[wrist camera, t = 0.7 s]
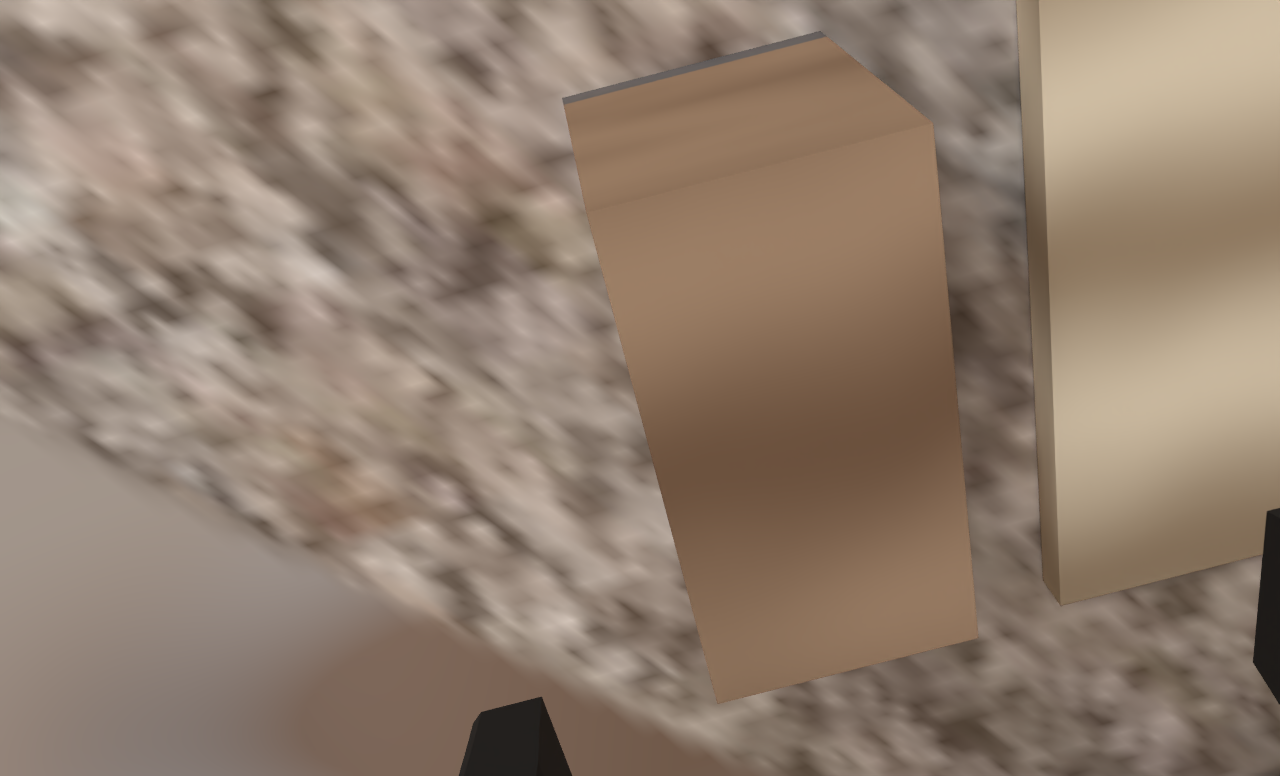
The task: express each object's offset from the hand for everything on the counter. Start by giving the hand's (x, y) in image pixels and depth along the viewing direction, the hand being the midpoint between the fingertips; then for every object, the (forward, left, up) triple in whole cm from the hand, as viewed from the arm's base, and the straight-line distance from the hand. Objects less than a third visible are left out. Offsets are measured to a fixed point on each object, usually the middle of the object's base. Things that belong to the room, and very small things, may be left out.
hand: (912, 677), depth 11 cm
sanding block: (0, 0, -9) cm, 9 cm away
